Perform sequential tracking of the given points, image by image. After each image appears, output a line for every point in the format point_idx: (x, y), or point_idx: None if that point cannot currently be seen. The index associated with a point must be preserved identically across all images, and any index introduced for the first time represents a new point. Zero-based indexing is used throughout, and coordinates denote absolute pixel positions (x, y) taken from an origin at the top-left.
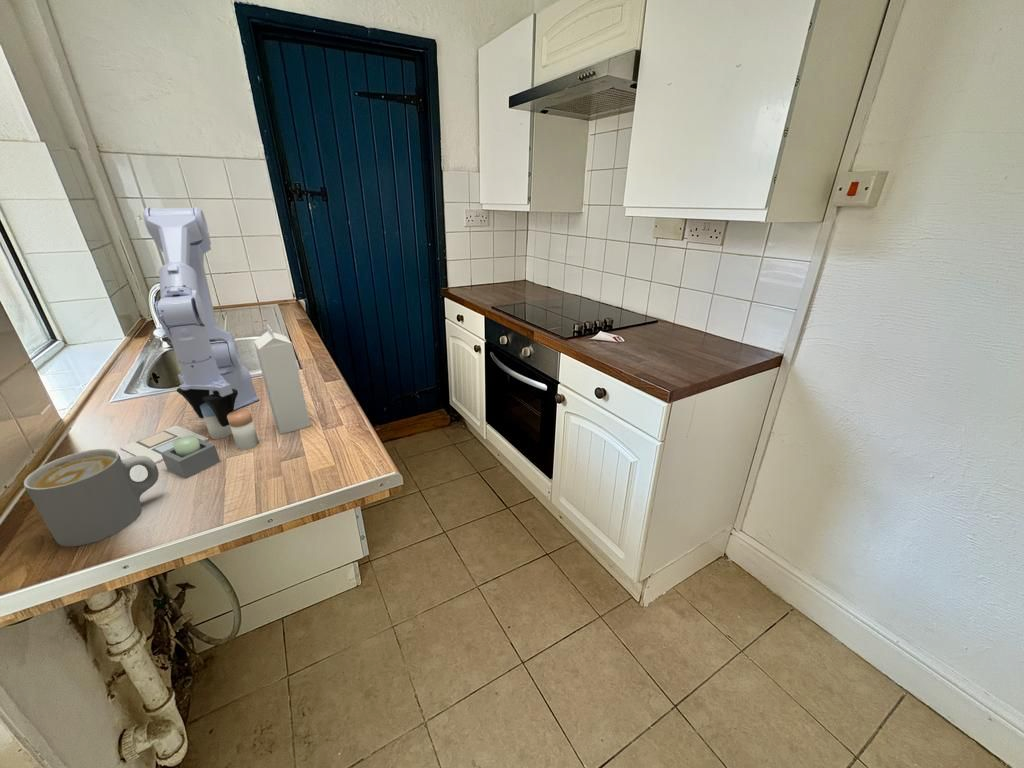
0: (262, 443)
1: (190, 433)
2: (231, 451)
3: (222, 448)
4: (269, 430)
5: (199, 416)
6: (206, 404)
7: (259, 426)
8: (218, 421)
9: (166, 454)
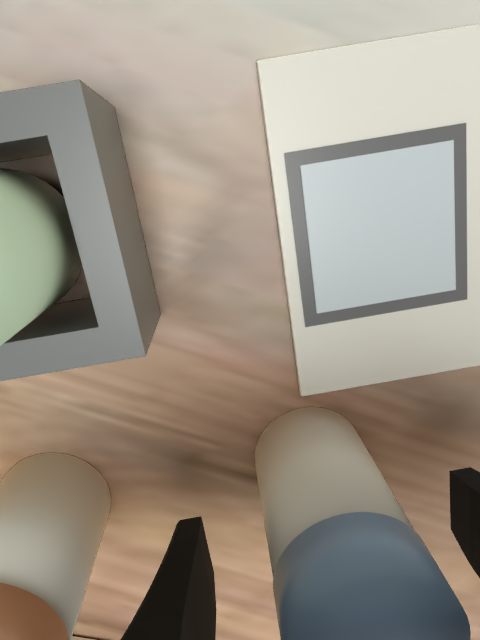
0: None
1: (460, 353)
2: (46, 422)
3: (124, 404)
4: (133, 611)
5: (467, 477)
6: (414, 625)
7: (222, 597)
8: (195, 541)
9: (7, 102)
